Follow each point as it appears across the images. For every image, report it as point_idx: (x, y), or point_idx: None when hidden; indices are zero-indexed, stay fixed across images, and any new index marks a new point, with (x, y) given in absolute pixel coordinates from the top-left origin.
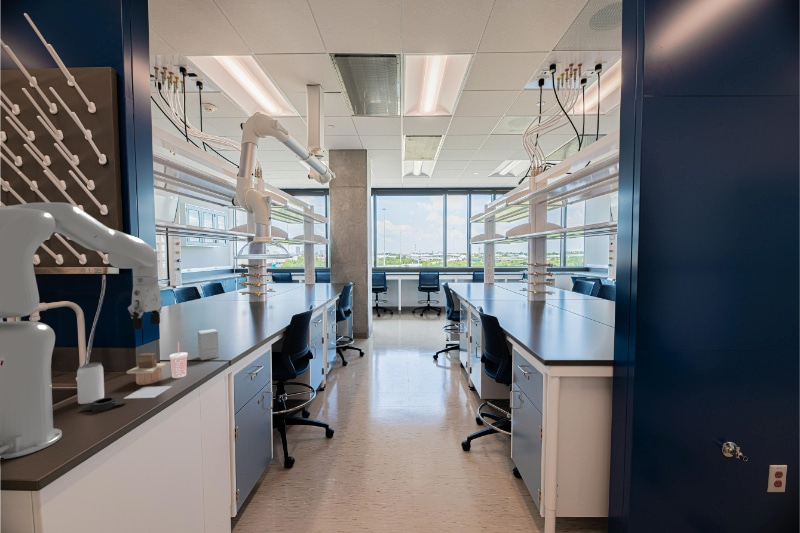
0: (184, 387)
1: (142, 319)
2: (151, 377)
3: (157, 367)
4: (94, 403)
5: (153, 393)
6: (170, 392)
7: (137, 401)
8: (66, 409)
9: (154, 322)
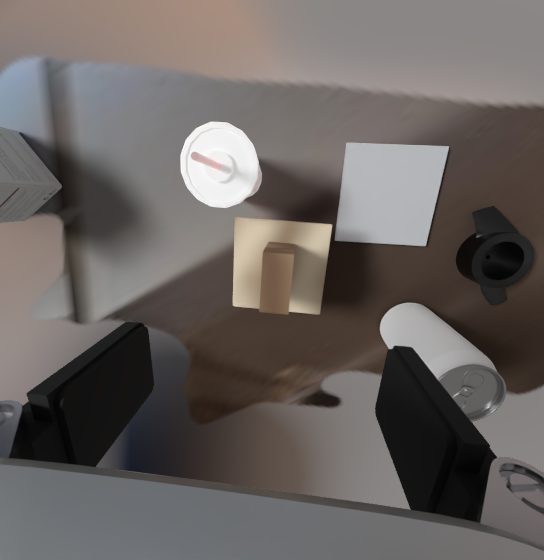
0: (359, 91)
1: (449, 419)
2: None
3: (291, 226)
4: (517, 275)
5: (408, 171)
6: (399, 120)
7: (453, 192)
8: None
9: (143, 365)
